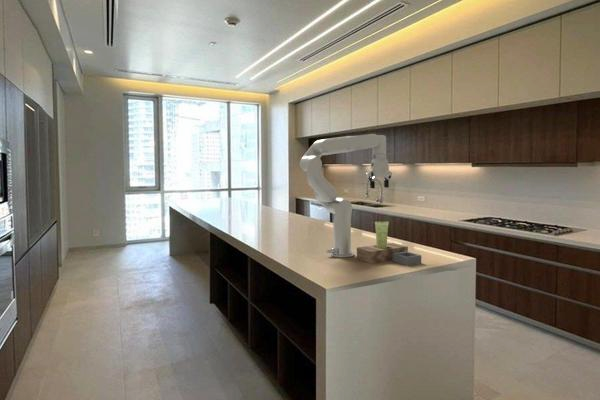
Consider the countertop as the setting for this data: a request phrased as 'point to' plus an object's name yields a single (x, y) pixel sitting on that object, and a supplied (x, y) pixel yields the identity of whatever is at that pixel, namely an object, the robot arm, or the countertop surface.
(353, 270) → the countertop surface
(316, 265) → the countertop surface
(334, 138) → the robot arm
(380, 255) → the port block
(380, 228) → the tube
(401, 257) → the frame
